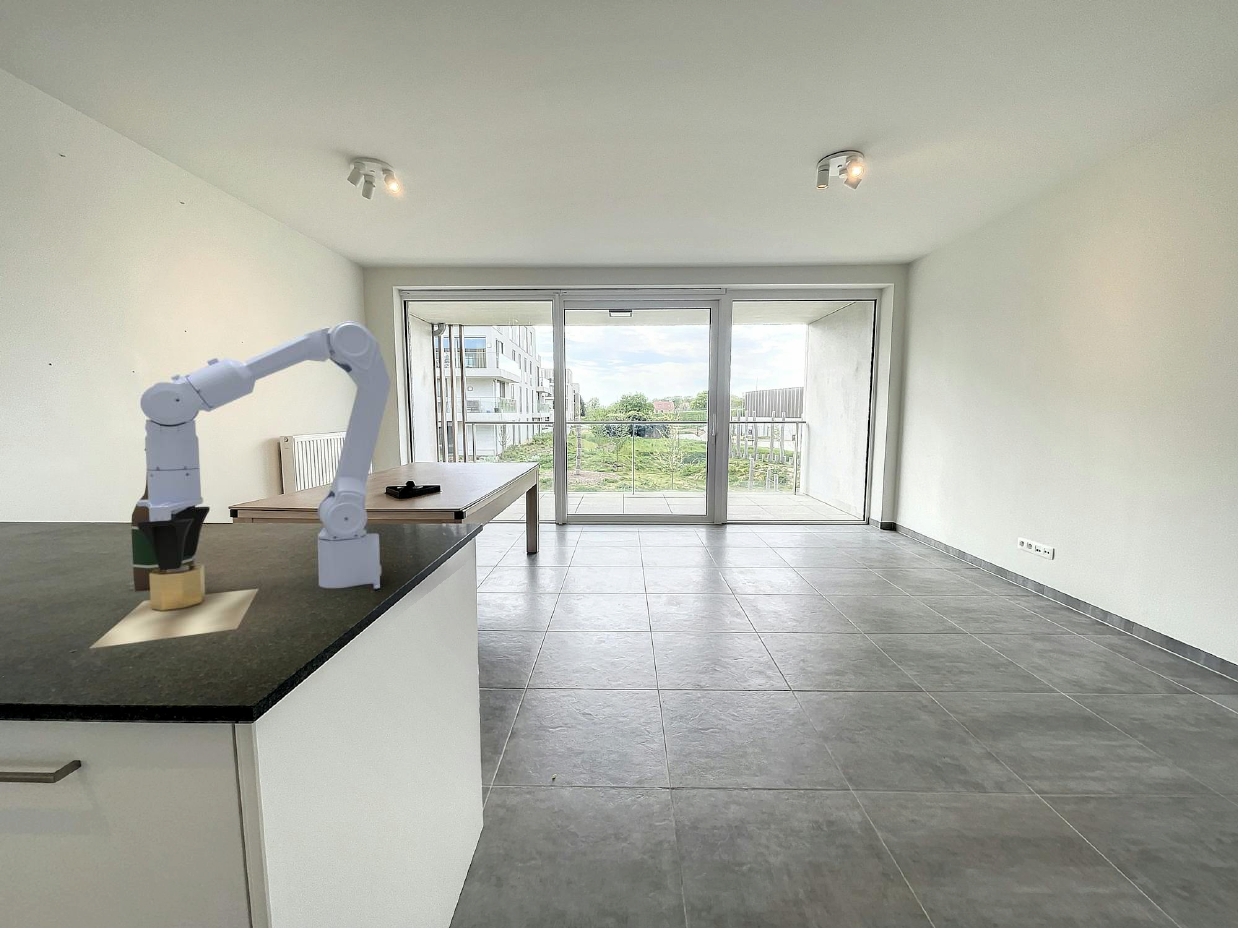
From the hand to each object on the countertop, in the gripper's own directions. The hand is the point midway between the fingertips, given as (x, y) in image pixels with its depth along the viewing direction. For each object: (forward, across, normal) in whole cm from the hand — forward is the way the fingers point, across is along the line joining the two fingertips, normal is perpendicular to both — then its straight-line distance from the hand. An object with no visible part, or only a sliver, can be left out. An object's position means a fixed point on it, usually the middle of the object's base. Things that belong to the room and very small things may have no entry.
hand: (178, 562), depth 74 cm
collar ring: (+6, 0, 0) cm, 6 cm away
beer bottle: (+8, -14, -5) cm, 17 cm away
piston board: (+7, +5, +2) cm, 9 cm away
